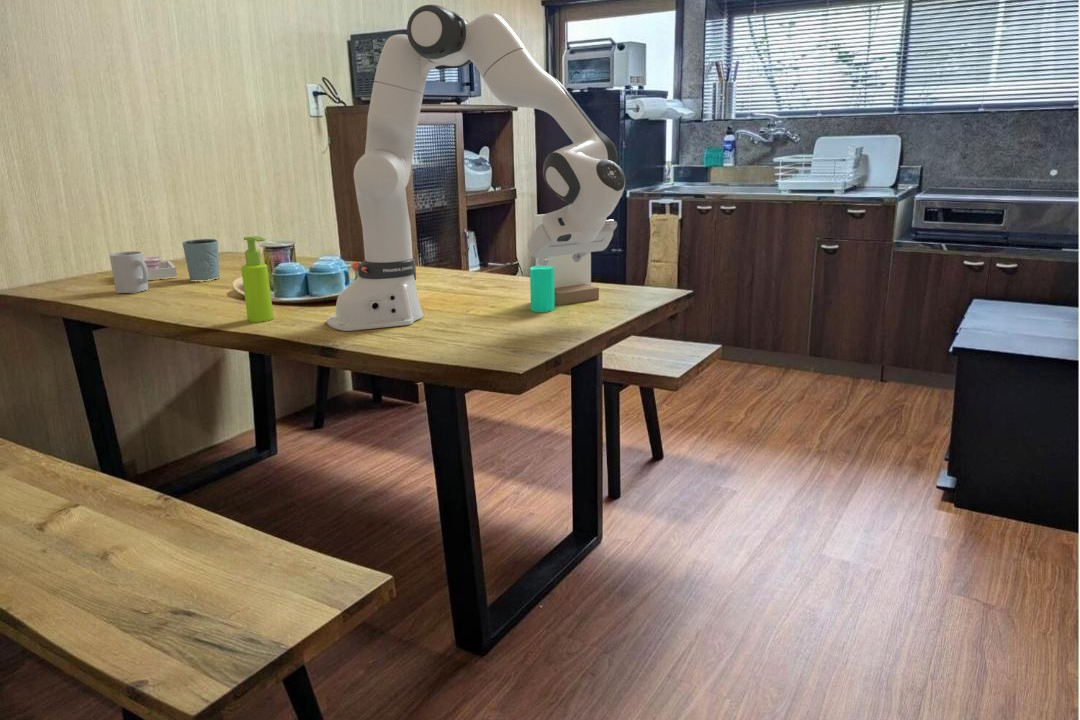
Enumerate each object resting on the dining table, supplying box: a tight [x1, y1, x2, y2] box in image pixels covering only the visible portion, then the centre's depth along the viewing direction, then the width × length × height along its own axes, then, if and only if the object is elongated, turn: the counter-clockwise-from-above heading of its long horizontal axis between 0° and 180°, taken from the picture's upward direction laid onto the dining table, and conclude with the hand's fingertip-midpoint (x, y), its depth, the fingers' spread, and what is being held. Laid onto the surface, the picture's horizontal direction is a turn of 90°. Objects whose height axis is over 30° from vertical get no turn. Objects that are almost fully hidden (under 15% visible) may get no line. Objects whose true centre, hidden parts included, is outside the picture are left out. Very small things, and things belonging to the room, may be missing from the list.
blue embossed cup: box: [182, 238, 221, 281], centre depth 241 cm, size 10×10×12 cm
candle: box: [529, 265, 555, 313], centre depth 192 cm, size 6×6×12 cm
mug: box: [109, 251, 149, 294], centre depth 225 cm, size 12×8×11 cm
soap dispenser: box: [240, 235, 274, 323], centre depth 186 cm, size 6×7×20 cm
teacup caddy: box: [148, 260, 178, 279], centre depth 248 cm, size 16×16×4 cm
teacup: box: [143, 255, 162, 270], centre depth 248 cm, size 12×12×6 cm
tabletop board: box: [534, 213, 600, 306], centre depth 201 cm, size 16×8×22 cm, turn 121°
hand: (558, 261), depth 183 cm, fingers open, 8 cm apart
